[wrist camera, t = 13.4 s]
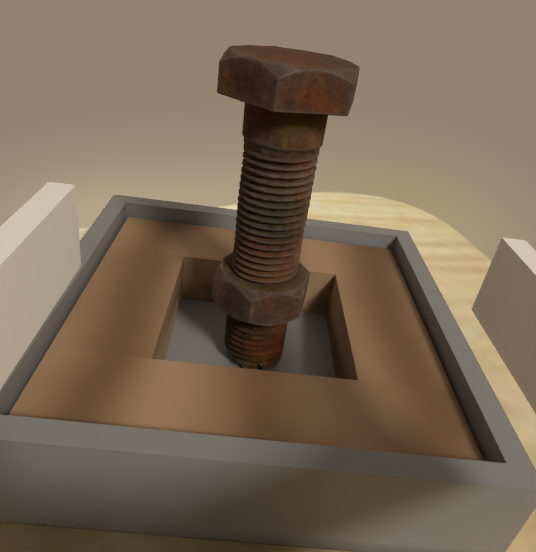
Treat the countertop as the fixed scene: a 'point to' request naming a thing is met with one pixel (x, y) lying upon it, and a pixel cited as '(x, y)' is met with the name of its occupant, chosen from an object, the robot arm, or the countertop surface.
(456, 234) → the countertop surface
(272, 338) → the bolt
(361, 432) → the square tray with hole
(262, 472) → the open box
